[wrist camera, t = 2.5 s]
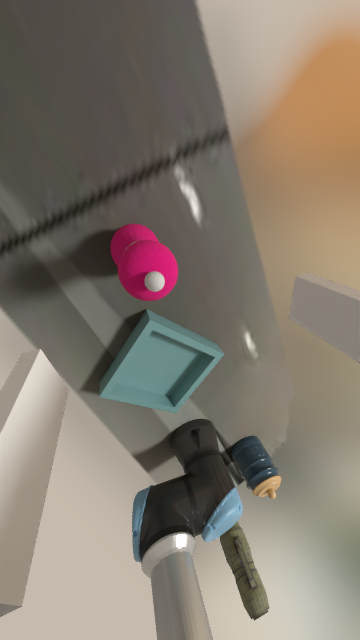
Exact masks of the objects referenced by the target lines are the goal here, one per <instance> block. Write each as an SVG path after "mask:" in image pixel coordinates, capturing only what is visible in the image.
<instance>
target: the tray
mask: <svg viewBox="0 0 360 640" xmlns="http://www.w3.org/2000/svg"><path fill="white" fill-rule="evenodd" d="M223 355H224V353H223V352H222V351H221V349H220V348H219V347H218V345H217V344H216V343H215V342H212V341H210V340H208V339H206V338H204V337H202V336H200V335H198V334H196V333H194V332H192V331H190V330H188V329H186V328H184V327H182V326H180V325H178V324H176V323H174V322H172V321H170V320H168V319H165V318H163V317H161V316H159V315H157V314H155V313H153V312H151V311H149V310H147V309H146V310H145V312H144V314H143V315H142V317H141V318H140V320H139V321H138V323H137V324H136V326H135V327H134V329H133V331H132V332H131V334H130V335H129V337H128V338H127V340H126V341H125V343H124V344H123V346H122V348H121V349H120V351H119V352H118V354H117V355H116V357H115V358H114V360H113V361H112V363H111V365H110V366H109V368H108V369H107V371H106V372H105V374H104V375H103V377H102V379H101V380H100V387H99V397H101V398H106V399H111V400H115V401H120V402H125V403H130V404H135V405H139V406H144V407H149V408H154V409H159V410H163V411H168V412H173V413H176V412H177V411H178V410H179V409H180V407H181V406H182V405H183V404H184V403H185V401H186V400H187V399H188V398H189V396H190V395H191V394H192V393H193V392H194V390H195V389H196V388H197V387H198V386H199V384H200V383H201V382H202V381H203V379H204V378H205V377H206V376H207V375H208V373H209V372H210V371H211V370H212V369H213V367H214V366H215V365H216V364H217V362H218V361H219V360H220V359H221V358H222V356H223Z"/></svg>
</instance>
